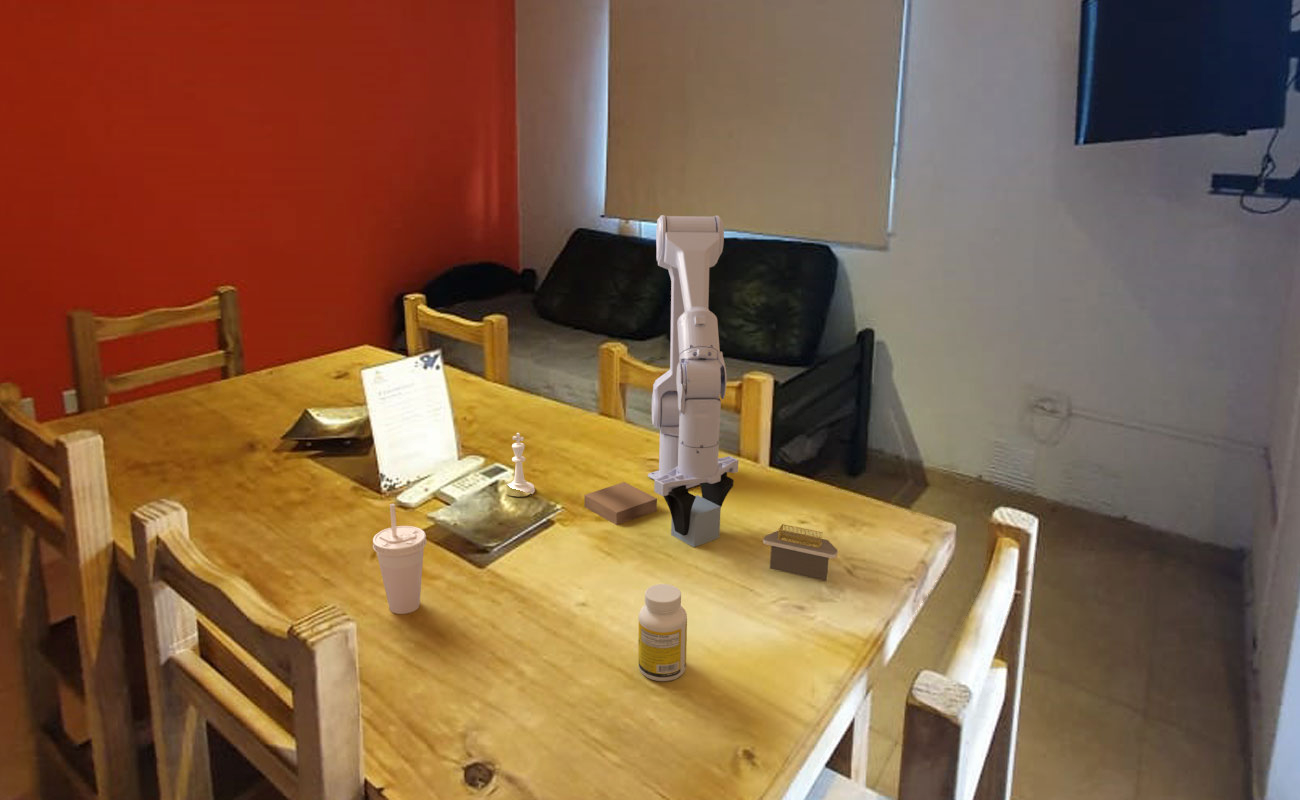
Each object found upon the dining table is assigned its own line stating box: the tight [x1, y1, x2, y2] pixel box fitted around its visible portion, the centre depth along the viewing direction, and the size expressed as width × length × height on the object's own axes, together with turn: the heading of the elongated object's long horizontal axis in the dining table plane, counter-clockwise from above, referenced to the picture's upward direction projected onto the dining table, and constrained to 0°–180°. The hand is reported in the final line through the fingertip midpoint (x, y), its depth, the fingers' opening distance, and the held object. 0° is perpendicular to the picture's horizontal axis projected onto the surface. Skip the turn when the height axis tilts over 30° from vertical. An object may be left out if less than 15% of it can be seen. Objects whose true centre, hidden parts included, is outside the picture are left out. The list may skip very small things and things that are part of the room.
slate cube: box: [670, 494, 722, 548], centre depth 136 cm, size 5×5×5 cm
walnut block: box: [583, 481, 658, 526], centre depth 145 cm, size 8×8×2 cm
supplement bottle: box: [638, 583, 688, 682], centre depth 105 cm, size 5×5×10 cm
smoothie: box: [372, 503, 428, 615], centre depth 115 cm, size 6×6×14 cm
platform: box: [762, 523, 838, 582], centre depth 127 cm, size 12×18×7 cm, turn 66°
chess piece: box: [506, 432, 536, 495], centre depth 149 cm, size 5×5×10 cm
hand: (695, 527), depth 137 cm, fingers closed on slate cube, 5 cm apart
